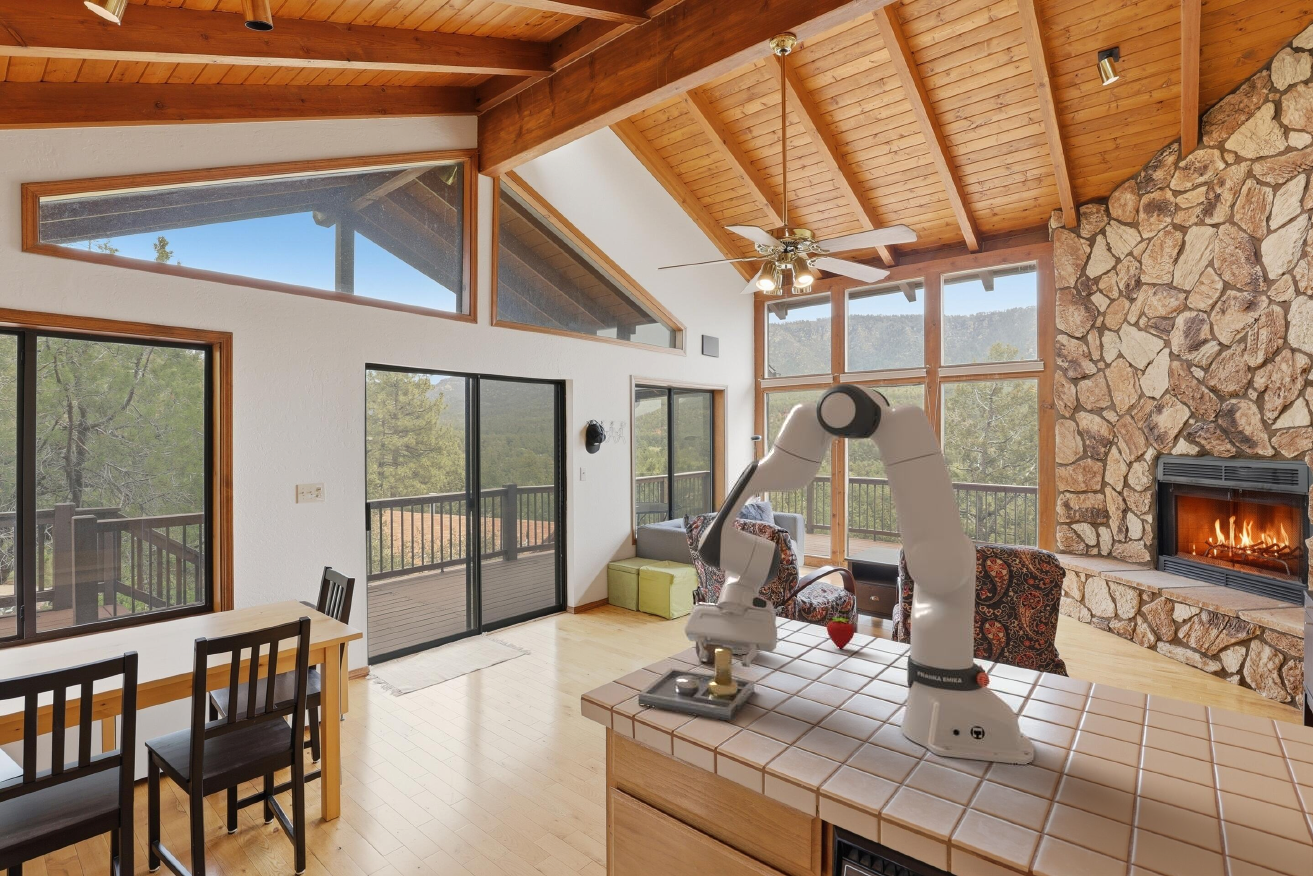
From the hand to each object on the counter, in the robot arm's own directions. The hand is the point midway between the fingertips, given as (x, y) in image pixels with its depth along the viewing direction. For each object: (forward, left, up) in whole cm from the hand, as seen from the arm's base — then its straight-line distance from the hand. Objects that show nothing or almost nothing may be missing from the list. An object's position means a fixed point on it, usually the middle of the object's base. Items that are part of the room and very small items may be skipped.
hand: (723, 662), depth 140 cm
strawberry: (-17, -50, -9) cm, 54 cm away
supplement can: (+8, -36, -9) cm, 38 cm away
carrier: (+6, 0, -8) cm, 10 cm away
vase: (+12, -25, -9) cm, 29 cm away
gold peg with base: (0, 0, -7) cm, 7 cm away
